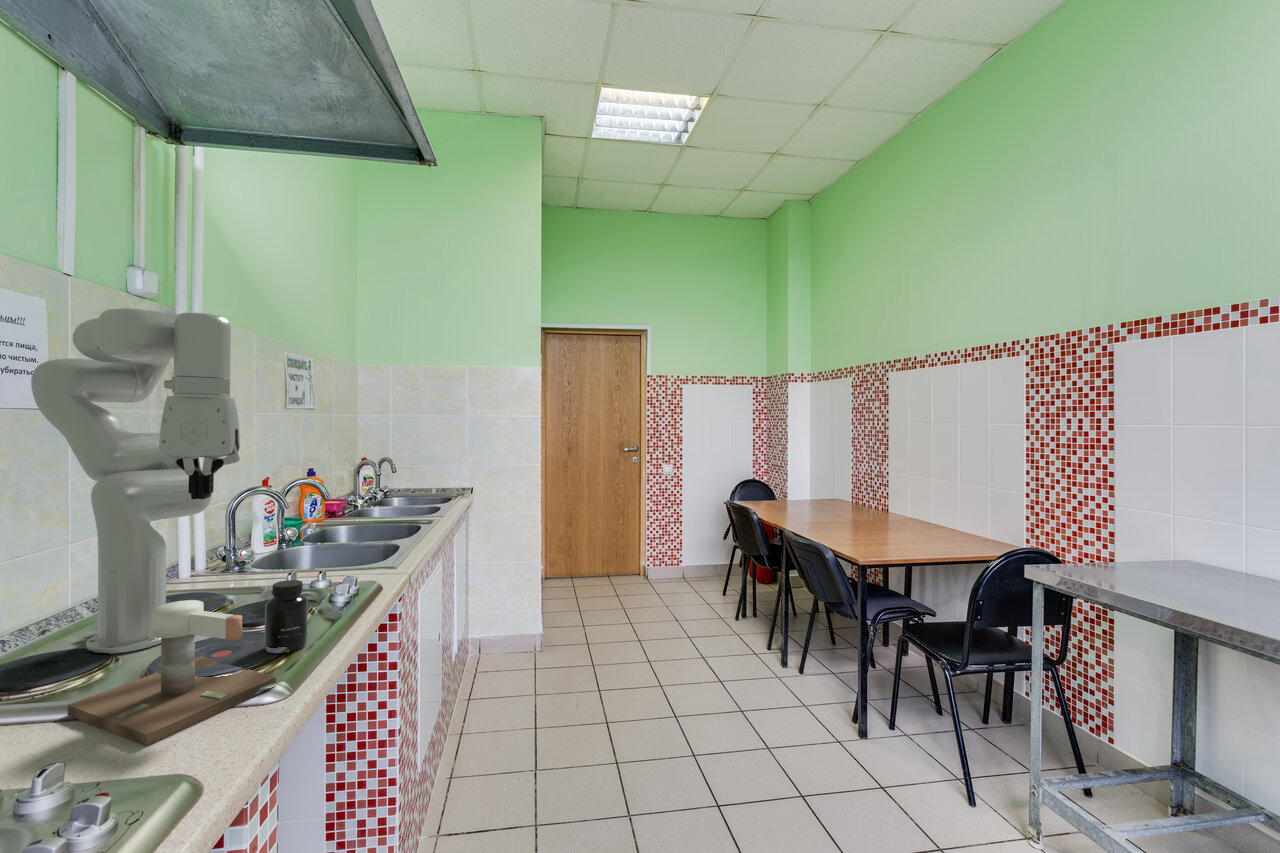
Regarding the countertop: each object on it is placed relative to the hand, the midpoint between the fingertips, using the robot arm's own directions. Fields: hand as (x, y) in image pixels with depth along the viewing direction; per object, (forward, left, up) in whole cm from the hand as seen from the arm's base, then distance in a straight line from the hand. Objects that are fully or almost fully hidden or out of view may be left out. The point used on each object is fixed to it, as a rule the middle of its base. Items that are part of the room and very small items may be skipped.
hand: (201, 497), depth 97 cm
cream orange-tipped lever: (+12, -7, -18) cm, 23 cm away
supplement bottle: (+5, +12, -29) cm, 32 cm away
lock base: (+8, -8, -29) cm, 31 cm away
